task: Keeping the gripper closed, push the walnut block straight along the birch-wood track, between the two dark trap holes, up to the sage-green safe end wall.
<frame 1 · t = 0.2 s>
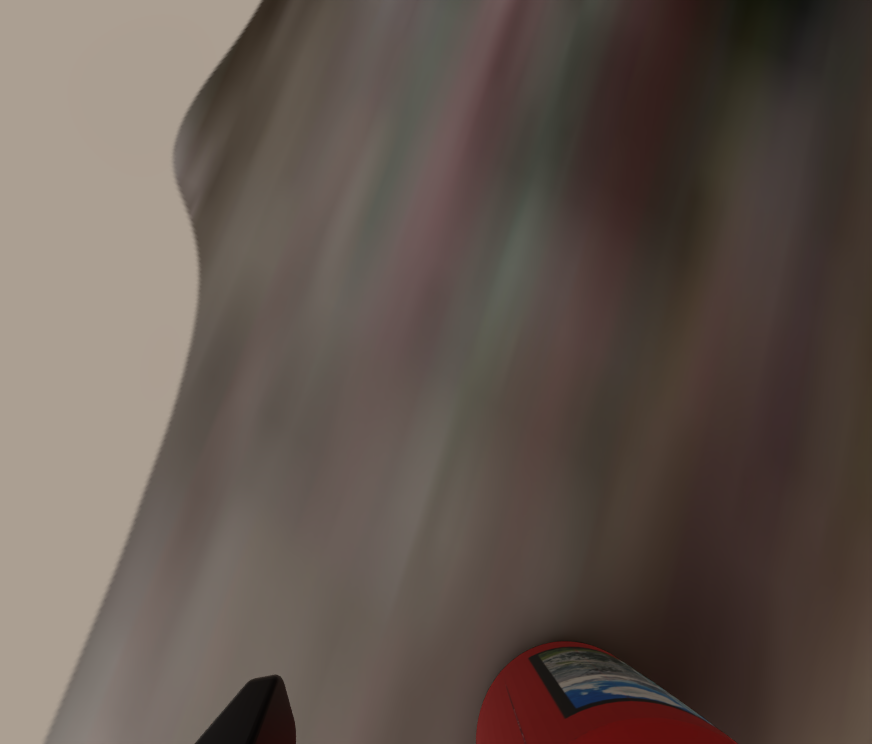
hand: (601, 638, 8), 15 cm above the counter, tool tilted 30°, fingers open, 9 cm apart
beverage can: (566, 736, 21), on the counter
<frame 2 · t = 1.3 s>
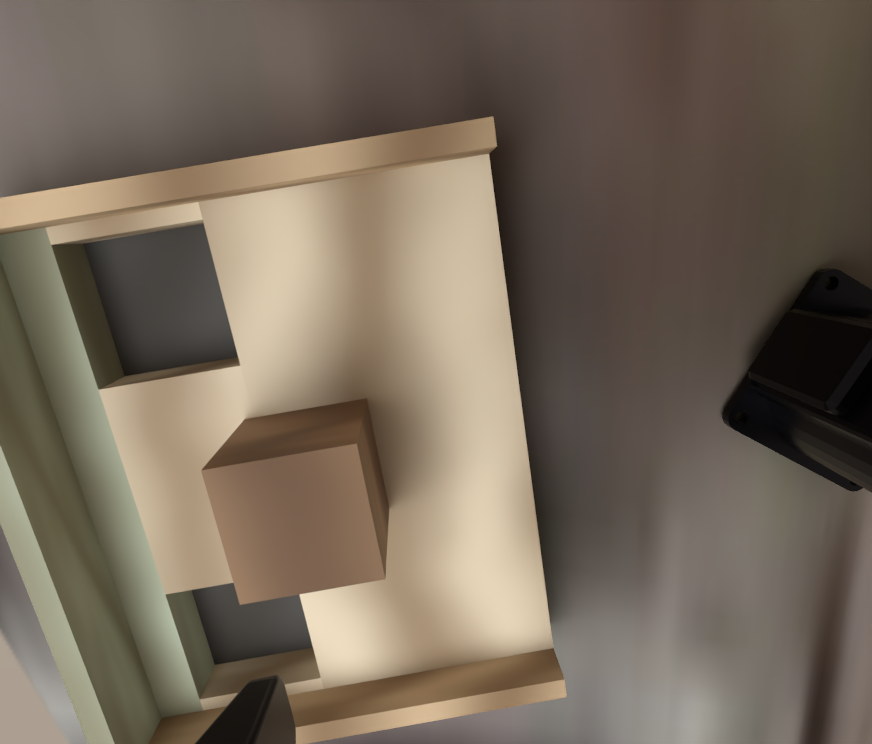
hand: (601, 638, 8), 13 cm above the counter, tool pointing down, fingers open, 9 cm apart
trap track: (305, 446, 21), on the counter
walnut block: (318, 465, 19), point 2 cm above the counter, touching trap track
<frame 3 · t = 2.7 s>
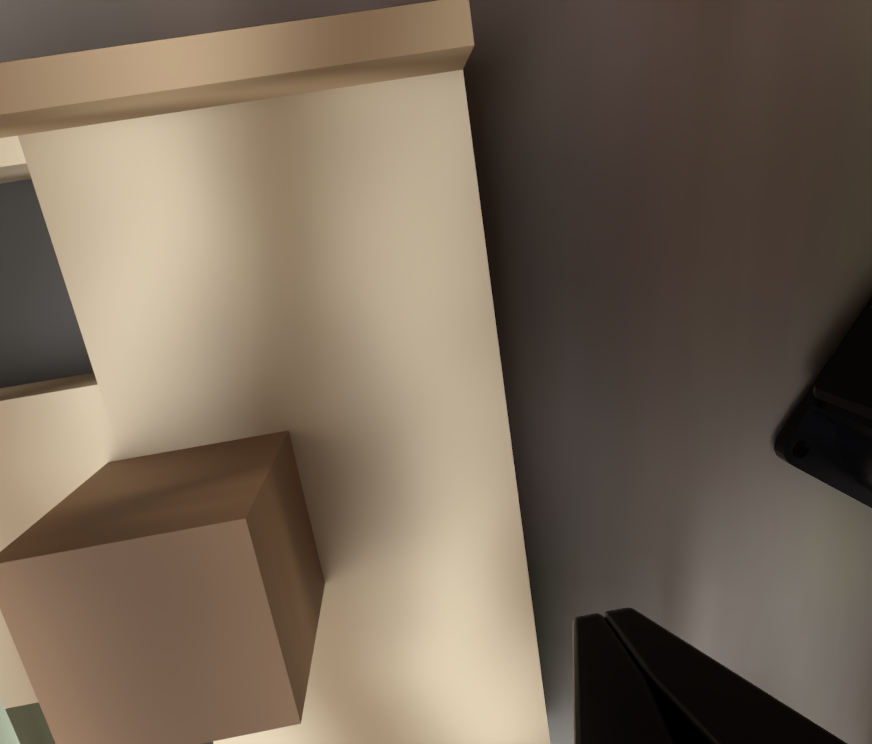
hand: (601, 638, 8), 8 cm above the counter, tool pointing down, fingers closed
trap track: (212, 493, 15), on the counter
walnut block: (221, 525, 13), point 2 cm above the counter, touching trap track
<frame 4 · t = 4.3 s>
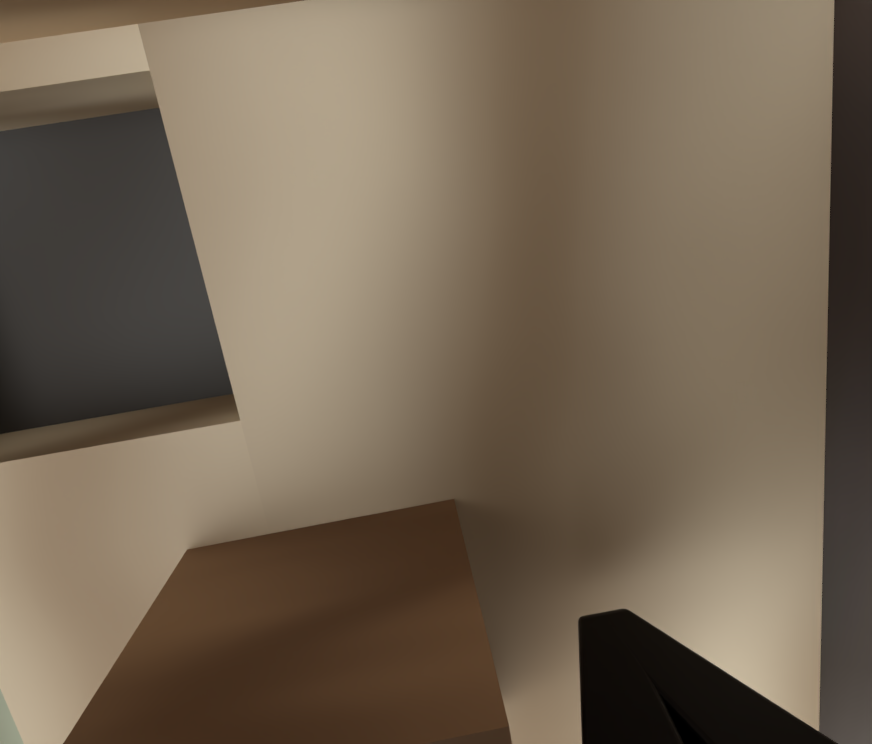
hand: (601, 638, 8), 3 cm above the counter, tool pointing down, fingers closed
trap track: (360, 561, 11), on the counter
walnut block: (348, 636, 9), point 2 cm above the counter, touching gripper, trap track
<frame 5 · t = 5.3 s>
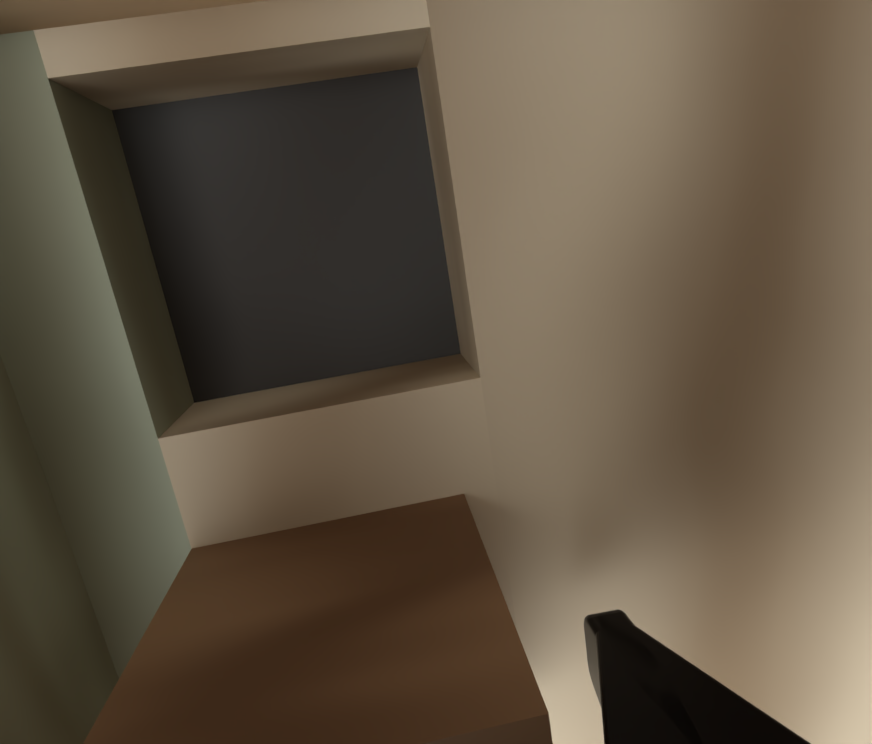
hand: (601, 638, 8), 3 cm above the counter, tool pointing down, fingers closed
trap track: (531, 527, 11), on the counter
walnut block: (356, 635, 9), point 2 cm above the counter, touching gripper, trap track
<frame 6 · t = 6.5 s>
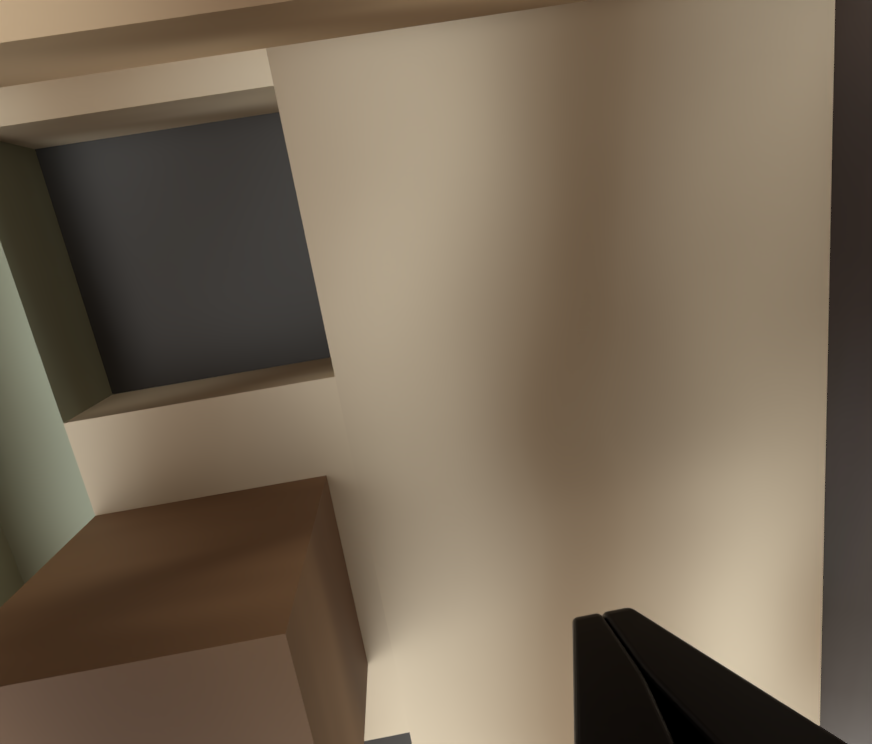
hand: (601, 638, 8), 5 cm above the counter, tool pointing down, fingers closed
trap track: (418, 509, 12), on the counter
walnut block: (239, 594, 10), point 2 cm above the counter, touching trap track
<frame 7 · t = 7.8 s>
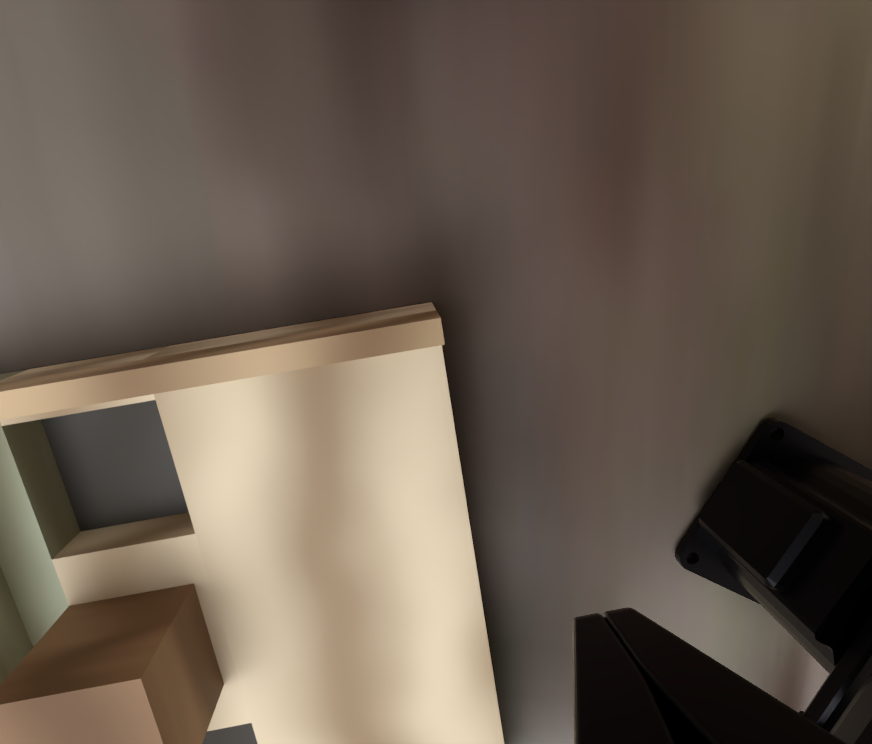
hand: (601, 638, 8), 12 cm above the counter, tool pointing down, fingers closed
trap track: (264, 591, 21), on the counter
walnut block: (149, 646, 19), point 2 cm above the counter, touching trap track
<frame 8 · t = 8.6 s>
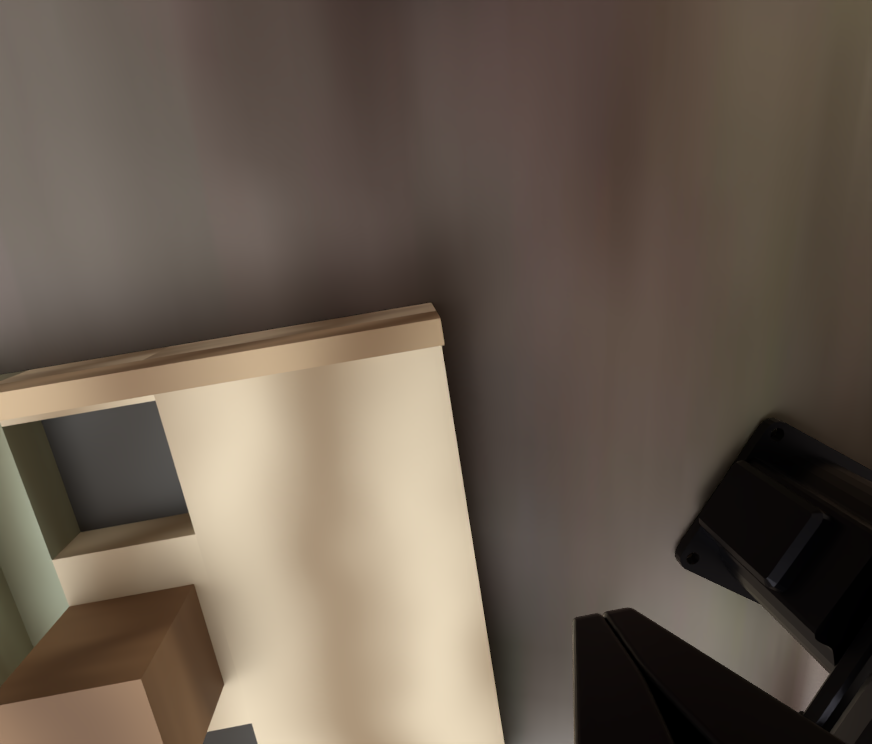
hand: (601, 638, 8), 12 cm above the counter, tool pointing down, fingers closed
trap track: (264, 591, 21), on the counter
walnut block: (149, 646, 19), point 2 cm above the counter, touching trap track
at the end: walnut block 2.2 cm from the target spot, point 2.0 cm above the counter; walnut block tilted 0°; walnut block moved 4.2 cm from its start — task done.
